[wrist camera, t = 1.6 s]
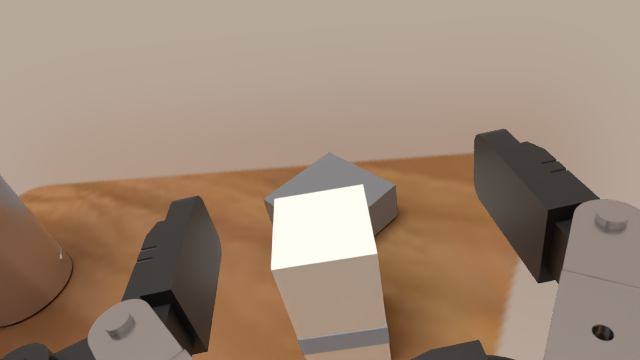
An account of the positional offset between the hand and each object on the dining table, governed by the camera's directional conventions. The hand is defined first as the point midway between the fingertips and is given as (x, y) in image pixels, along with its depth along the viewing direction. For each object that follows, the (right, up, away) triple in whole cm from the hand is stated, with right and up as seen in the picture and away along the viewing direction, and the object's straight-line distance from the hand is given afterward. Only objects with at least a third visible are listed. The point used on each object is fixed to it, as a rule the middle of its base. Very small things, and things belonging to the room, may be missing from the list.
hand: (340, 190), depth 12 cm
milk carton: (+1, -11, +21) cm, 24 cm away
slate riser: (+1, -4, +30) cm, 30 cm away
